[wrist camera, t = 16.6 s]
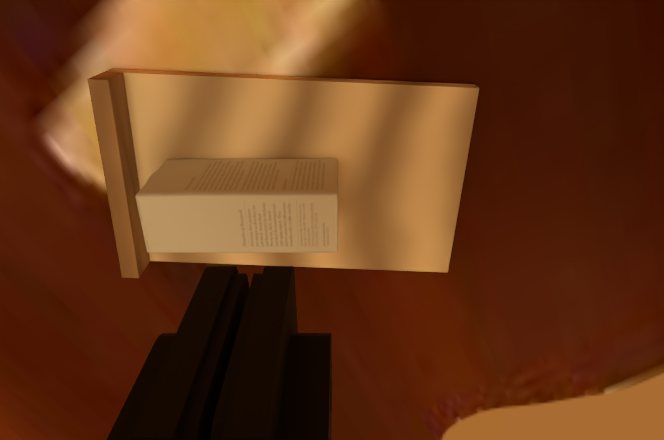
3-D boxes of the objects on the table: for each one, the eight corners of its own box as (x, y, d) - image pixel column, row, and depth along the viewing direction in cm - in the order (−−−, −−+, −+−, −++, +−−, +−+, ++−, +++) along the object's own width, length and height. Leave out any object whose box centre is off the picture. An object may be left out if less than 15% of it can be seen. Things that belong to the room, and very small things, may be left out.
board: (474, 84, 33) (489, 96, 30) (444, 264, 39) (454, 290, 36) (111, 68, 33) (87, 79, 30) (139, 252, 39) (122, 277, 36)
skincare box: (338, 213, 36) (174, 211, 36) (339, 157, 34) (165, 156, 34) (338, 257, 31) (145, 255, 31) (338, 194, 29) (132, 192, 29)
